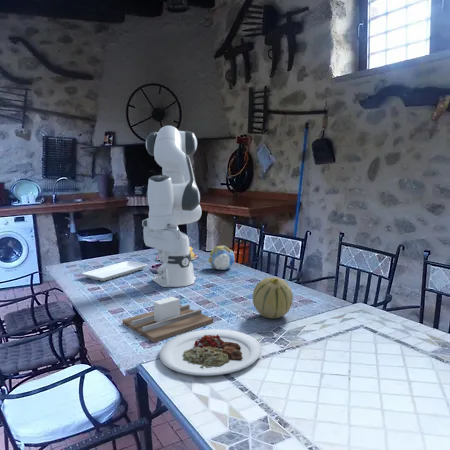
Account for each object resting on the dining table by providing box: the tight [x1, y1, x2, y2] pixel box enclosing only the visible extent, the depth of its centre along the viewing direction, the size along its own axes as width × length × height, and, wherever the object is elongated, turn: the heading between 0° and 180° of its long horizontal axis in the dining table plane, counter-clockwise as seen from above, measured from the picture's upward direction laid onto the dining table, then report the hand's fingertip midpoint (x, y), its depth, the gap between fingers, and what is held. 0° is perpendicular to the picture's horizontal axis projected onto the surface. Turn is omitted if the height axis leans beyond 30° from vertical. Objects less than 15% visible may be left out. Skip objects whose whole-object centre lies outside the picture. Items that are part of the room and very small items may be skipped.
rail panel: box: [121, 304, 214, 343], centre depth 150 cm, size 22×24×3 cm
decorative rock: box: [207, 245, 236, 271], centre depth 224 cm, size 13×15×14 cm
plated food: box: [158, 328, 262, 377], centre depth 125 cm, size 30×30×3 cm
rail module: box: [152, 295, 181, 322], centre depth 150 cm, size 4×9×7 cm, turn 130°
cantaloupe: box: [252, 276, 294, 319], centre depth 152 cm, size 15×15×15 cm
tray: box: [81, 260, 148, 282], centre depth 221 cm, size 17×32×4 cm, turn 145°
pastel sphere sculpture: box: [156, 246, 198, 261], centre depth 252 cm, size 25×24×9 cm
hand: (163, 261), depth 147 cm, fingers closed
